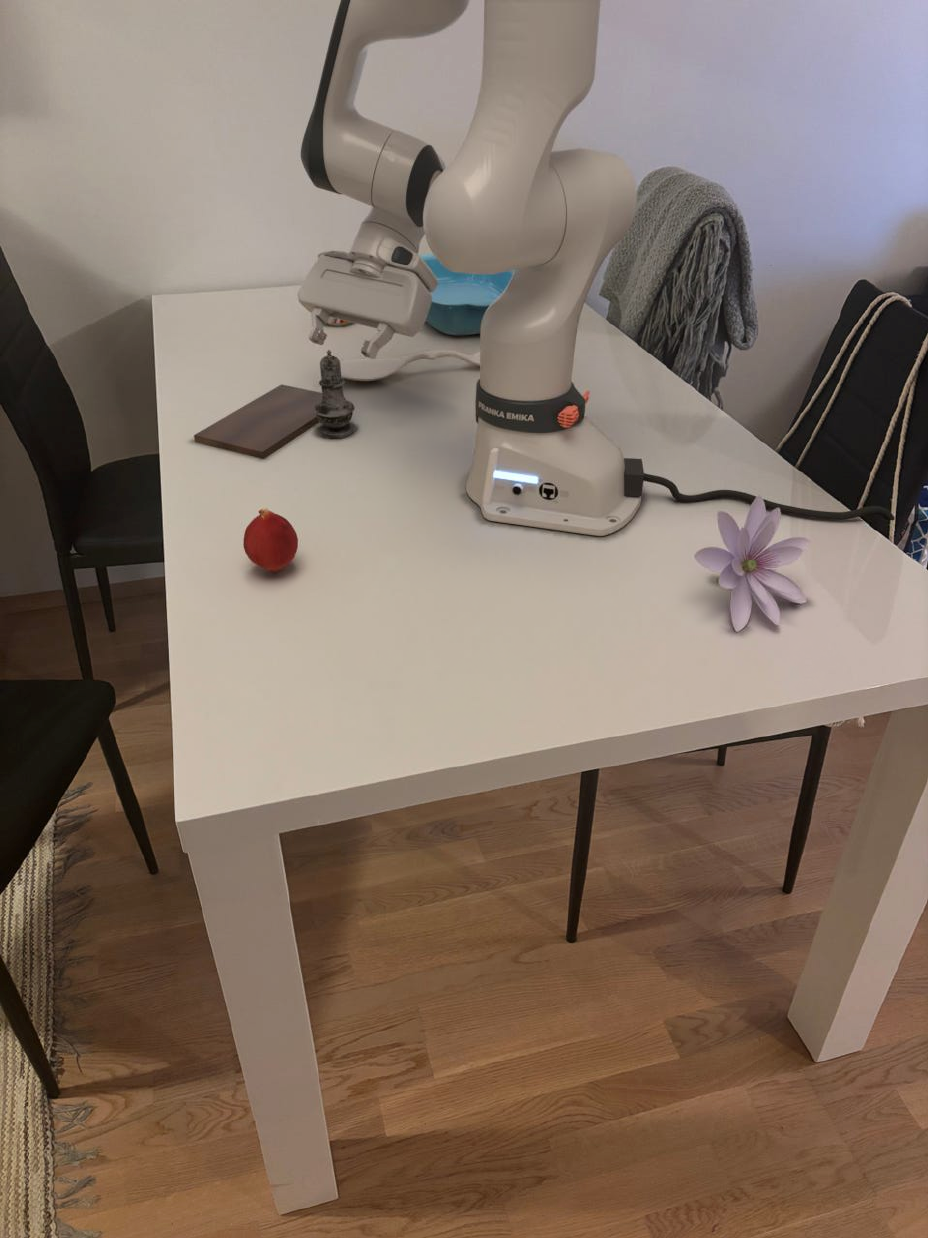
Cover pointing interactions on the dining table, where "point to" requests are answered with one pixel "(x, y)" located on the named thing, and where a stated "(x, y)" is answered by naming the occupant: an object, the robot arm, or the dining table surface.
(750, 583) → the water lily
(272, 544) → the onion
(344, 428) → the grey chess piece
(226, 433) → the walnut board
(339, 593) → the dining table surface
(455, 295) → the casserole dish
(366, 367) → the spoon
